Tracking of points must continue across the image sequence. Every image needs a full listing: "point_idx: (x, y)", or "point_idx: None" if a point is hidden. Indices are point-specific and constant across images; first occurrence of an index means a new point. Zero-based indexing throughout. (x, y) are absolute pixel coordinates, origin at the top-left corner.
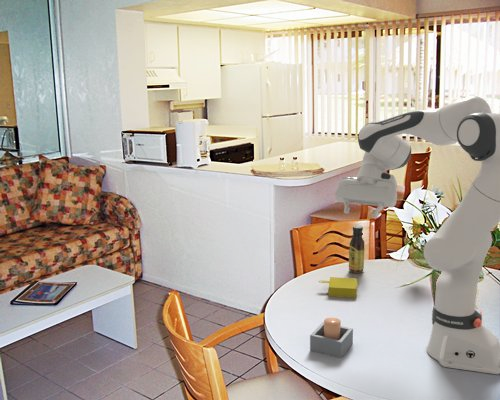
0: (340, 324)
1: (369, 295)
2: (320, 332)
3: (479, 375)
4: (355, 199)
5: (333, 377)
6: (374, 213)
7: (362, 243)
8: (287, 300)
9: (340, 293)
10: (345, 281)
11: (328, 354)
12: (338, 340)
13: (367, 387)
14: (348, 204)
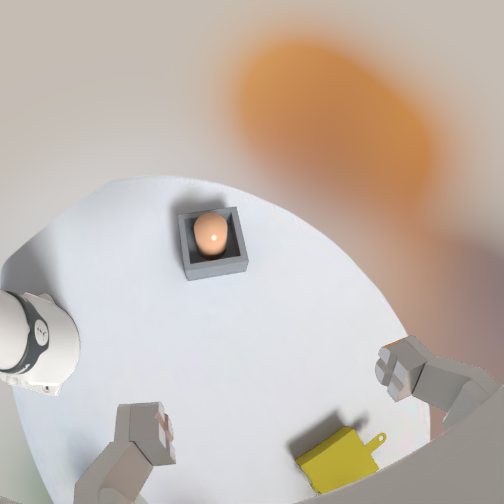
0: (195, 235)
1: (278, 485)
2: (236, 240)
3: None
4: (424, 447)
5: (166, 182)
6: (133, 406)
7: None
8: None
9: (326, 442)
10: (341, 477)
11: None
12: (185, 217)
13: (119, 189)
14: (443, 419)
